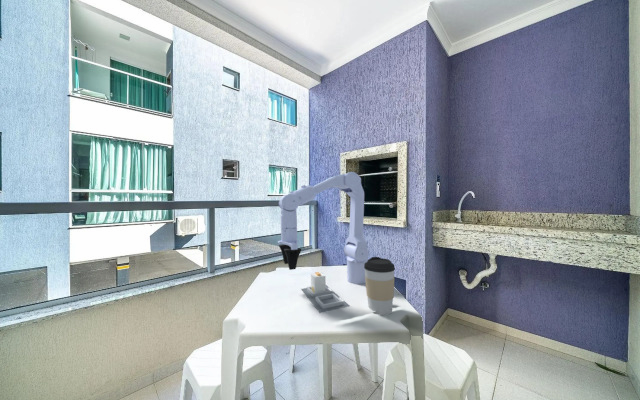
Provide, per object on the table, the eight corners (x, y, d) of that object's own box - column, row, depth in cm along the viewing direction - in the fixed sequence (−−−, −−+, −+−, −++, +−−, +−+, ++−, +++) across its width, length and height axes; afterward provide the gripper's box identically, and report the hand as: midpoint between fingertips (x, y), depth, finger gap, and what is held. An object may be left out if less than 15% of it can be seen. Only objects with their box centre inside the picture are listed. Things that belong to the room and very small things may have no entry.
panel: (325, 286, 85) (325, 282, 85) (350, 308, 67) (350, 302, 67) (300, 291, 81) (300, 286, 81) (319, 315, 64) (319, 309, 64)
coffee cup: (401, 315, 63) (400, 262, 63) (371, 318, 61) (370, 264, 61) (387, 301, 72) (386, 255, 72) (360, 304, 70) (359, 256, 70)
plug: (321, 288, 81) (321, 270, 81) (325, 292, 77) (325, 273, 77) (311, 290, 80) (310, 272, 80) (314, 294, 76) (314, 275, 76)
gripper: (274, 226, 84) (274, 262, 84) (282, 231, 71) (282, 273, 70) (292, 225, 87) (293, 260, 86) (303, 229, 73) (304, 270, 73)
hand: (289, 266), depth 79 cm, fingers open, 7 cm apart
